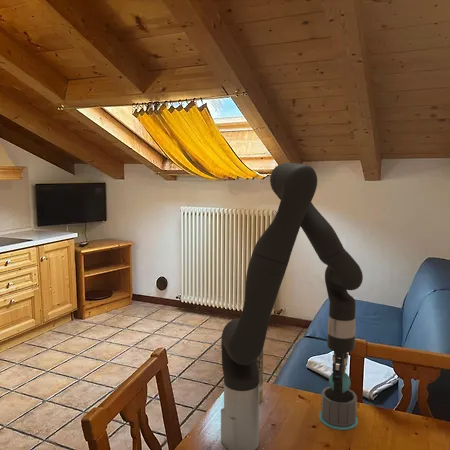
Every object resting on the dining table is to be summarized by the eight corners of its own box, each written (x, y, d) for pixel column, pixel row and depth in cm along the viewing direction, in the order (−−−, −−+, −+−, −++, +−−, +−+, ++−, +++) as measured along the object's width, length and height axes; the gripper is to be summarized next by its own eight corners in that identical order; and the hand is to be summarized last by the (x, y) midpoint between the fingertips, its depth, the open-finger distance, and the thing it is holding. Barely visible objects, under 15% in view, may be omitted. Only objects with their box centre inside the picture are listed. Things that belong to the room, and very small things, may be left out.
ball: (339, 399, 119) (340, 379, 118) (324, 389, 124) (324, 370, 123) (354, 393, 122) (355, 373, 121) (339, 384, 127) (340, 365, 126)
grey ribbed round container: (338, 434, 117) (339, 409, 116) (310, 414, 126) (311, 391, 125) (366, 422, 122) (367, 398, 121) (338, 403, 132) (339, 381, 130)
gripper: (352, 344, 112) (350, 403, 115) (357, 324, 126) (355, 378, 128) (323, 339, 115) (321, 398, 117) (331, 321, 128) (329, 374, 131)
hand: (339, 387), depth 123 cm, fingers closed on ball, 6 cm apart
